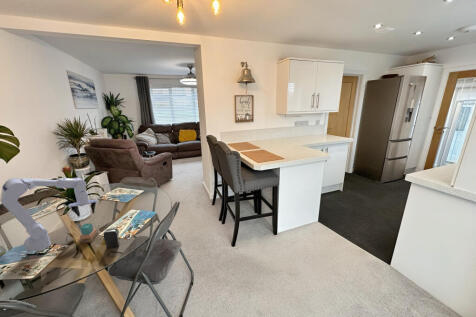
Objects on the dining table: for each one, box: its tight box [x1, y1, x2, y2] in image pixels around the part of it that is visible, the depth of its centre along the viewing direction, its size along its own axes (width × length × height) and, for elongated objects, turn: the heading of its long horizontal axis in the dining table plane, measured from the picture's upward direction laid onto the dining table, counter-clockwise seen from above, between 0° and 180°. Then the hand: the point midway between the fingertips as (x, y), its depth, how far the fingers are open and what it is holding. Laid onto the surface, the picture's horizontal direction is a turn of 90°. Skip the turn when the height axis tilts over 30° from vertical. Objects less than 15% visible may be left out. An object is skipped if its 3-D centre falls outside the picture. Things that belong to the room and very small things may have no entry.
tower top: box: [79, 228, 98, 239], centre depth 114 cm, size 6×6×2 cm
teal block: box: [79, 222, 94, 235], centre depth 113 cm, size 4×4×5 cm
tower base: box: [78, 231, 99, 244], centre depth 115 cm, size 7×7×2 cm
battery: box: [102, 228, 121, 249], centre depth 109 cm, size 7×4×11 cm, turn 104°
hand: (86, 214), depth 121 cm, fingers open, 7 cm apart
